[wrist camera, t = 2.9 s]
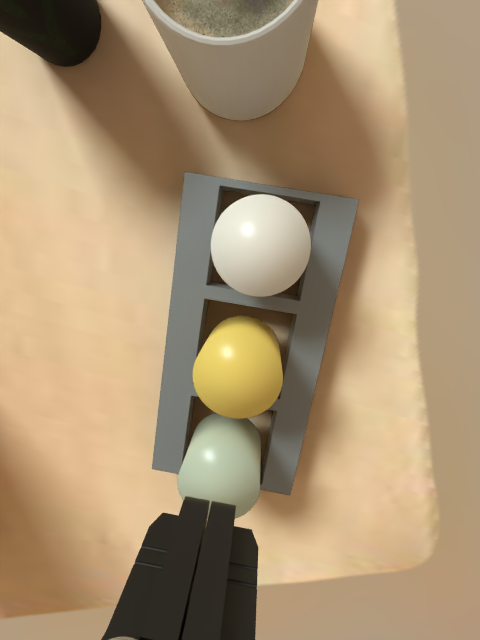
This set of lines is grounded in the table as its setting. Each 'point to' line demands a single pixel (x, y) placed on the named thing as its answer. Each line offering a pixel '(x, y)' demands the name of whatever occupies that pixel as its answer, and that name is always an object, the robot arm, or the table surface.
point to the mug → (236, 50)
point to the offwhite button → (260, 245)
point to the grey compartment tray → (306, 307)
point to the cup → (53, 27)
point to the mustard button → (239, 368)
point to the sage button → (223, 463)
